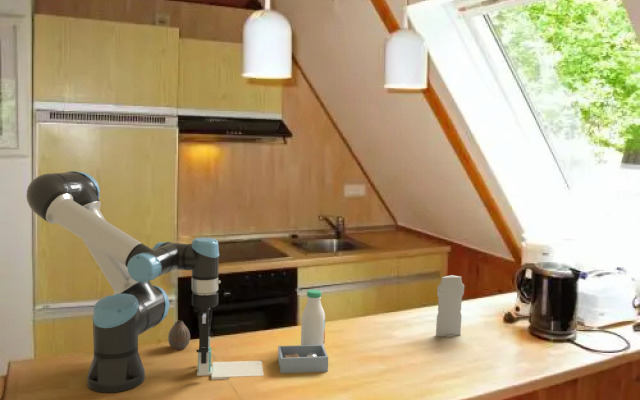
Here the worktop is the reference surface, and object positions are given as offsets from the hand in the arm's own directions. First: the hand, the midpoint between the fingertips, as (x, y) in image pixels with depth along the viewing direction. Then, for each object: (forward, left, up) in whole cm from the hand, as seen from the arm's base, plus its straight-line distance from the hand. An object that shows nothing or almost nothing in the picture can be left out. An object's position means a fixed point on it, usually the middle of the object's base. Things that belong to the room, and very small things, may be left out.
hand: (204, 365), depth 166 cm
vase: (-9, +20, -2) cm, 22 cm away
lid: (+8, 0, -2) cm, 8 cm away
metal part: (+32, +1, -1) cm, 32 cm away
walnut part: (+26, 0, -1) cm, 26 cm away
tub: (+29, +1, -2) cm, 29 cm away
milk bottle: (+34, +14, -2) cm, 37 cm away
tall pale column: (+85, +25, -2) cm, 89 cm away
